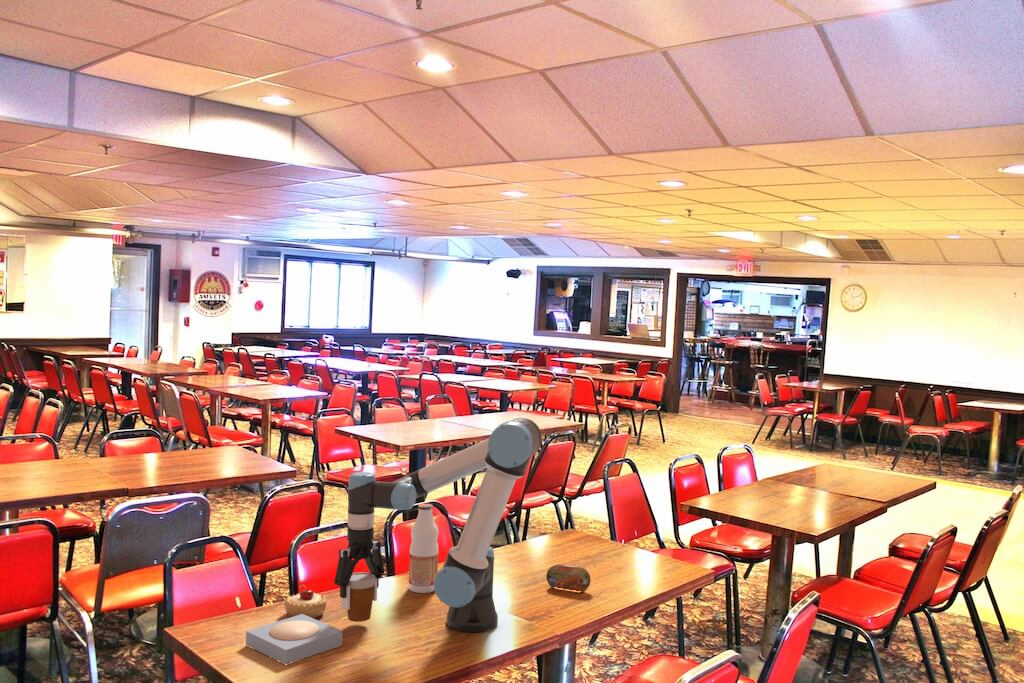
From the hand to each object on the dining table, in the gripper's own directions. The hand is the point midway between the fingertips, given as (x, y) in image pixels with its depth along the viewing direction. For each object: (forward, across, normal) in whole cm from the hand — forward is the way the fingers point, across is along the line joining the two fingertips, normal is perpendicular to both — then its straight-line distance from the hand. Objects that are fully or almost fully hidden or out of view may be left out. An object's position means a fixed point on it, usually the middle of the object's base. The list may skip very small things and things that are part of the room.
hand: (359, 604), depth 232 cm
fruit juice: (+7, -36, -10) cm, 38 cm away
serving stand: (+6, +21, -1) cm, 22 cm away
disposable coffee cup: (+4, 0, 0) cm, 4 cm away
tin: (+8, -70, +25) cm, 74 cm away
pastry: (+6, +5, -18) cm, 20 cm away
